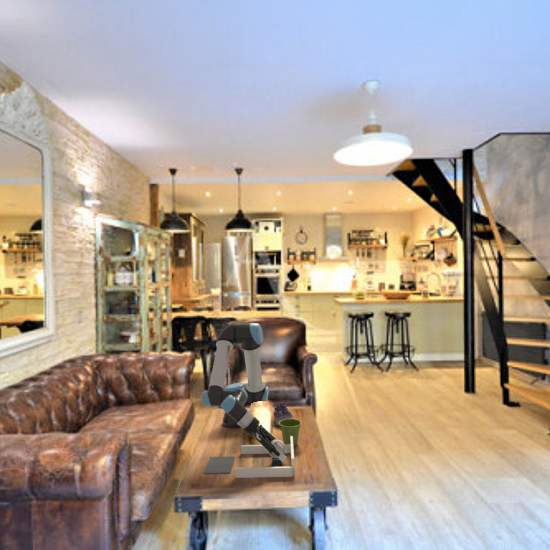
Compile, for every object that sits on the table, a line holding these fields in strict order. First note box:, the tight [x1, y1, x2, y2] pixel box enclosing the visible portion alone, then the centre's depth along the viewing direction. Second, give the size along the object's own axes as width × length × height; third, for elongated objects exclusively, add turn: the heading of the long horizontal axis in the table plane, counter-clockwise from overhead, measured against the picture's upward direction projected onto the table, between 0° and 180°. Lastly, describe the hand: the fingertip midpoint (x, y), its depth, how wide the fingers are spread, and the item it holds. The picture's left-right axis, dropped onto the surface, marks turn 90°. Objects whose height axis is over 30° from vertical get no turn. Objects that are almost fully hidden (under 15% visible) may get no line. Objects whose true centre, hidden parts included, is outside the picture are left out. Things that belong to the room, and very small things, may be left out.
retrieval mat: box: [203, 455, 235, 475], centre depth 190 cm, size 16×12×1 cm
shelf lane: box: [235, 436, 295, 479], centre depth 189 cm, size 24×26×8 cm
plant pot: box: [279, 418, 302, 447], centre depth 211 cm, size 12×12×11 cm
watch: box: [269, 438, 285, 467], centre depth 189 cm, size 6×8×11 cm
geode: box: [273, 402, 293, 428], centre depth 245 cm, size 20×12×10 cm, turn 8°
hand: (284, 456), depth 189 cm, fingers closed on watch, 5 cm apart
